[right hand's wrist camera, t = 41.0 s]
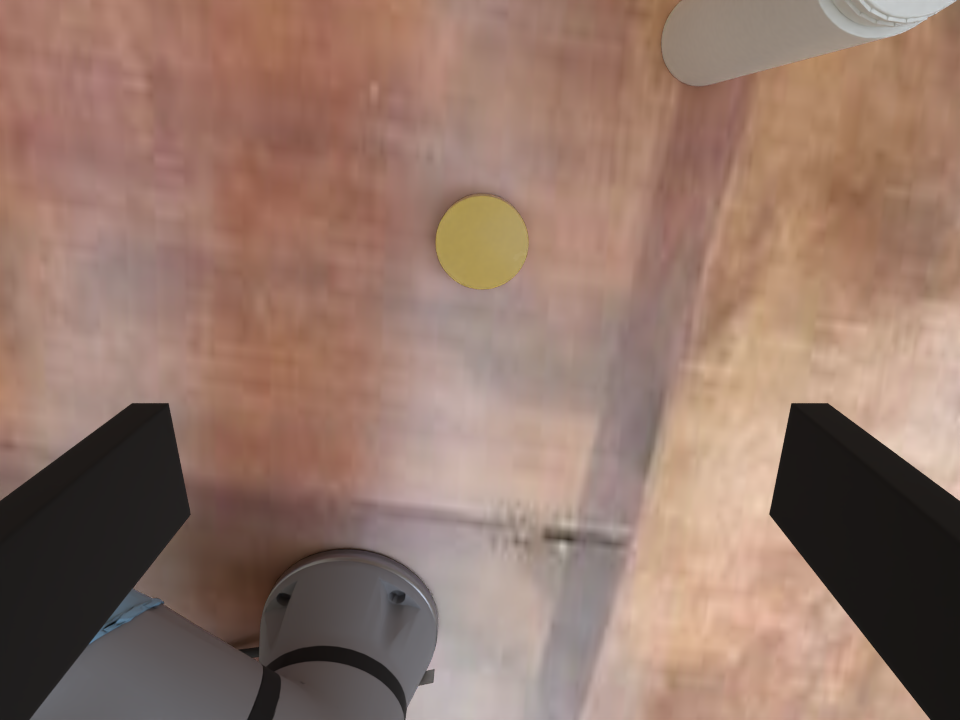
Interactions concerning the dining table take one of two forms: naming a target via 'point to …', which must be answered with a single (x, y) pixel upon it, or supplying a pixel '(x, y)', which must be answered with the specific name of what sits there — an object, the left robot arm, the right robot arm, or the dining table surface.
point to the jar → (776, 32)
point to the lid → (482, 241)
